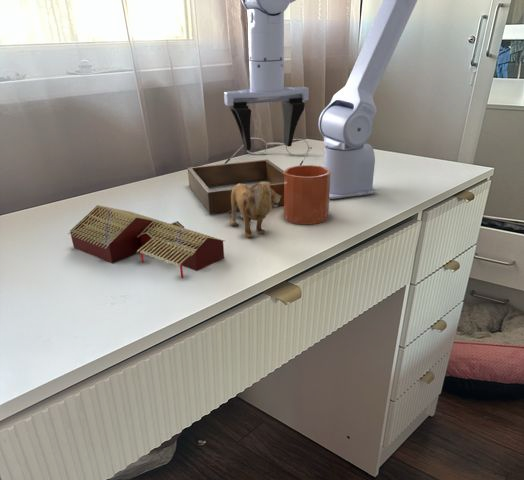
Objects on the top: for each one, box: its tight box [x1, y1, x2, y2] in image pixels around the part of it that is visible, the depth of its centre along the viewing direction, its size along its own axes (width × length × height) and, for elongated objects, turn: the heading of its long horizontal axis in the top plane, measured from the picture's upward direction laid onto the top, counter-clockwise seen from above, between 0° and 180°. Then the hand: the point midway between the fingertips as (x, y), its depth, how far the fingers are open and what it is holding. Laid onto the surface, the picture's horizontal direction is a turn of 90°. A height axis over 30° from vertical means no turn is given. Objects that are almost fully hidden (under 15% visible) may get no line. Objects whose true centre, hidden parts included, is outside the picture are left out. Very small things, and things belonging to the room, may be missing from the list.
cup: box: [283, 164, 331, 226], centre depth 88 cm, size 8×8×8 cm
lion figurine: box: [226, 181, 281, 239], centre depth 84 cm, size 15×5×9 cm, turn 32°
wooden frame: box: [187, 159, 284, 215], centre depth 101 cm, size 18×19×4 cm
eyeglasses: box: [224, 137, 313, 166], centre depth 121 cm, size 18×19×4 cm
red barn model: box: [67, 204, 226, 279], centre depth 77 cm, size 22×13×5 cm, turn 51°
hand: (267, 147), depth 91 cm, fingers open, 7 cm apart
